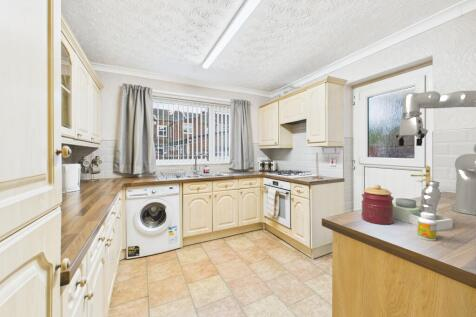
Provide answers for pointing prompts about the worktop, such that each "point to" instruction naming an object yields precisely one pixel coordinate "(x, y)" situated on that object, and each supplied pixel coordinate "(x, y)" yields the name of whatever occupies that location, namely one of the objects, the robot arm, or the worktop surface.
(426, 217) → the supplement bottle
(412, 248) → the worktop surface
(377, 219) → the canister
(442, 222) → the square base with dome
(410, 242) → the worktop surface
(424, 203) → the silver bottle
